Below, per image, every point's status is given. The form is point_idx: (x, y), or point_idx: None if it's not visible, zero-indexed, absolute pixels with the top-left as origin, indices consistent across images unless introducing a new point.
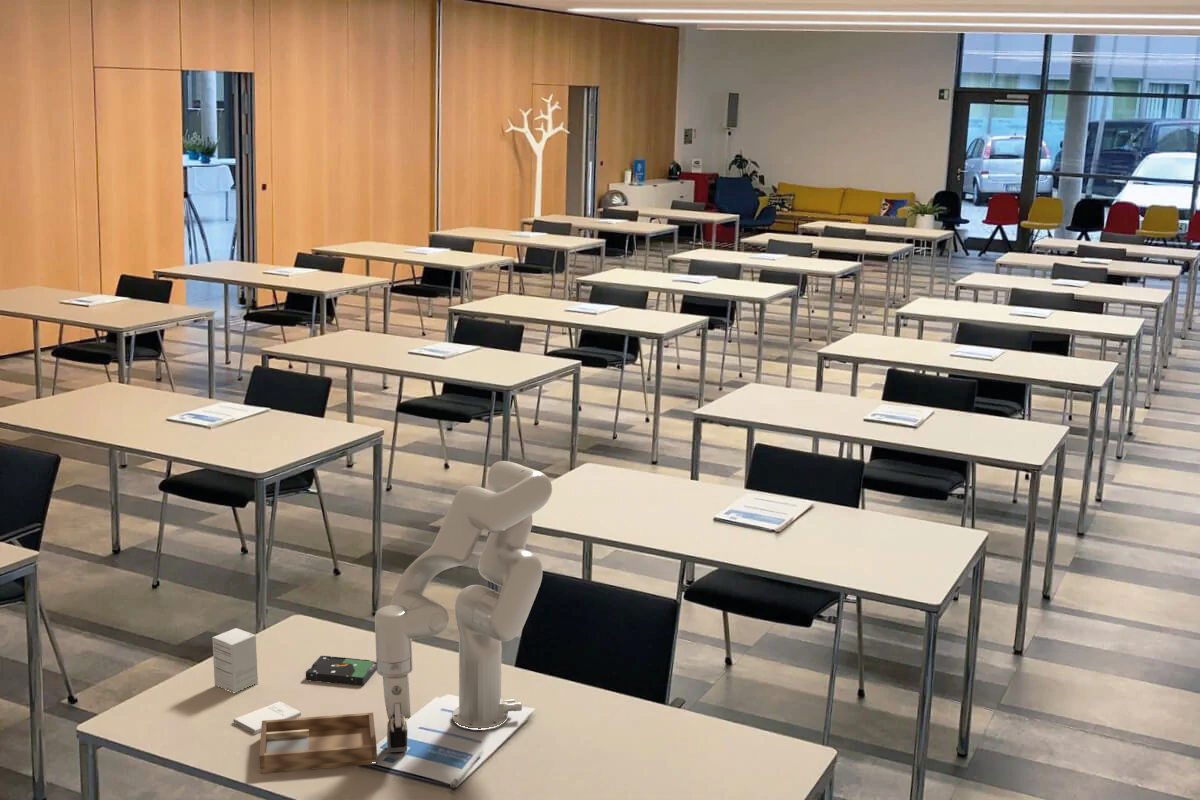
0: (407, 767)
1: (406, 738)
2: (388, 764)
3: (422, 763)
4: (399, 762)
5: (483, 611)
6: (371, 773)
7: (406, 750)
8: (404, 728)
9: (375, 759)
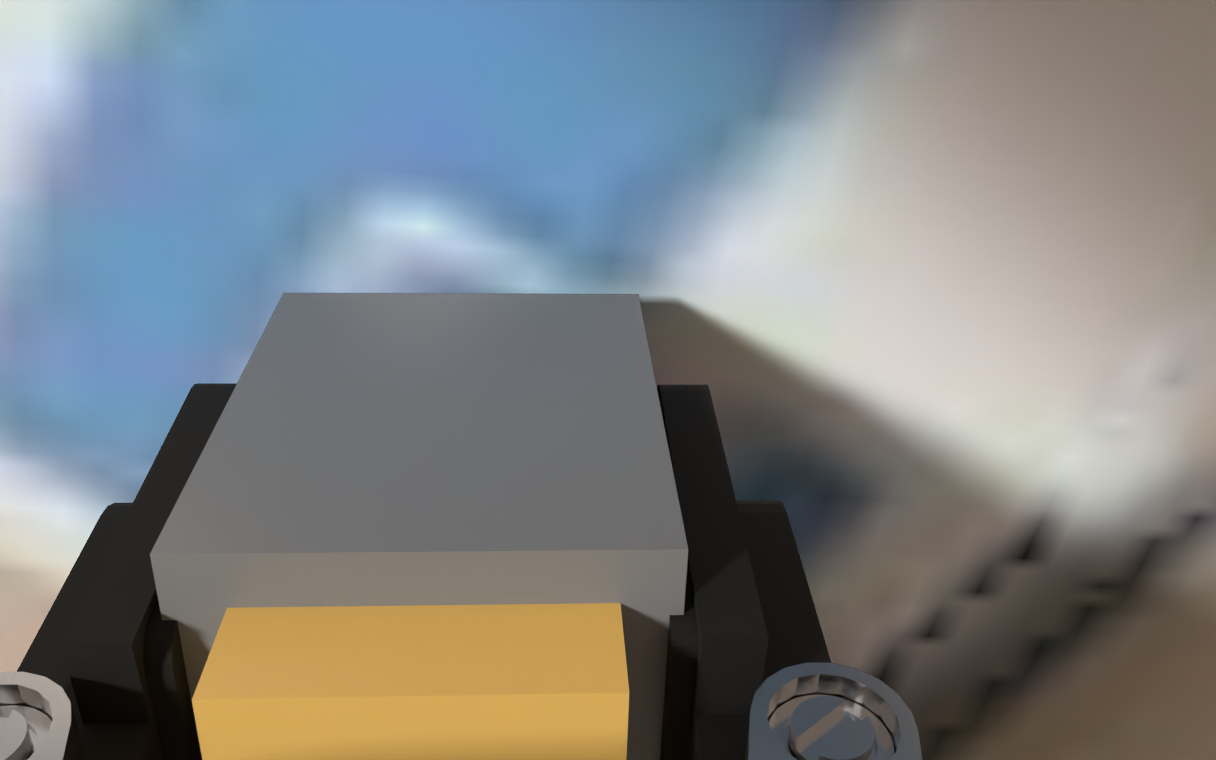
0: (1124, 303)
1: (665, 440)
2: (915, 554)
3: (1091, 30)
4: (908, 408)
5: None
6: (1084, 747)
7: (639, 308)
8: (622, 628)
9: None
